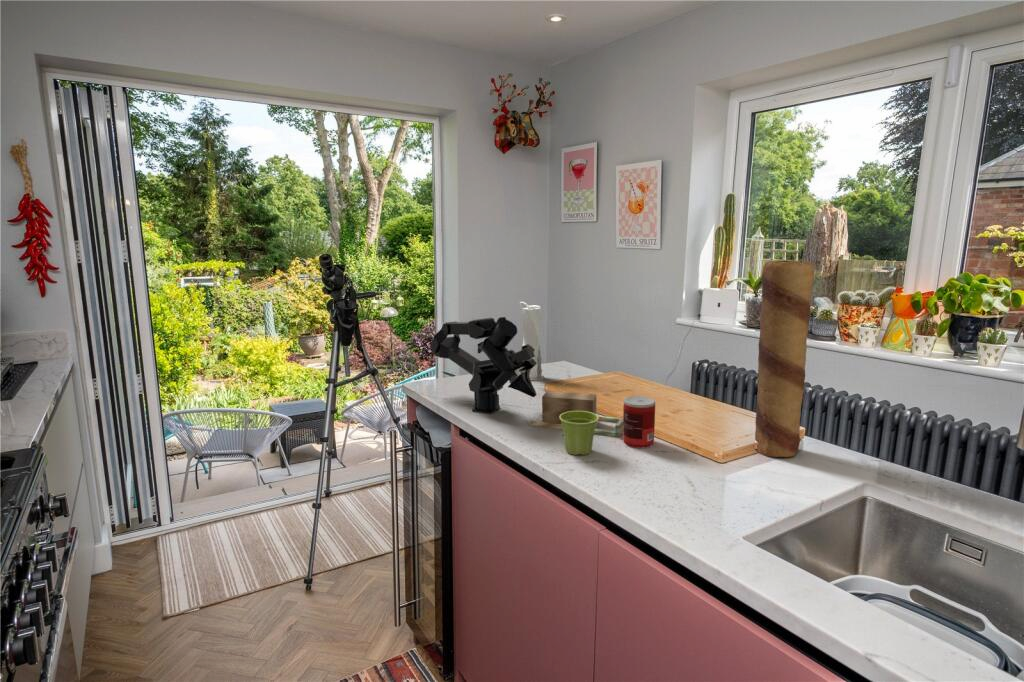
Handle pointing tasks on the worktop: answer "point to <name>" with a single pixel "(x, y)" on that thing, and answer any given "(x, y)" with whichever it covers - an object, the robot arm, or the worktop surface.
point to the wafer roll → (782, 355)
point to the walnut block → (565, 404)
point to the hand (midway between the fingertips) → (535, 396)
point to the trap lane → (597, 431)
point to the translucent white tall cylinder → (532, 337)
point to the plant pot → (578, 431)
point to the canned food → (638, 421)
